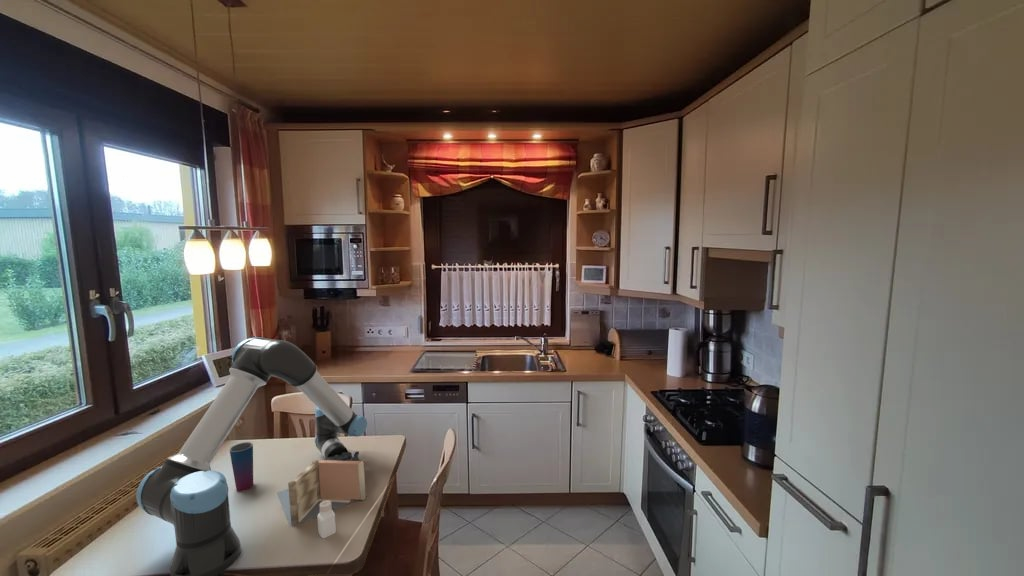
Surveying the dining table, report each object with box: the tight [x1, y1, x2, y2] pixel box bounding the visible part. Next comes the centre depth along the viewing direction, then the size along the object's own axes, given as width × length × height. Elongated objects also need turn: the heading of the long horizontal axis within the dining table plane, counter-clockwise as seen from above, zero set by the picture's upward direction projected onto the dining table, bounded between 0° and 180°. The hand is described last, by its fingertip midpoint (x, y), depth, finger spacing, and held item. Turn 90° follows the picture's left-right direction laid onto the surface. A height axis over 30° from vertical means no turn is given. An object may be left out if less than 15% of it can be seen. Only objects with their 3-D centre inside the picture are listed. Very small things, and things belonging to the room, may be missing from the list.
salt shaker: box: [316, 500, 337, 539], centre depth 119 cm, size 4×4×10 cm
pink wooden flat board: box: [318, 459, 367, 501], centre depth 135 cm, size 15×2×13 cm, turn 86°
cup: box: [229, 441, 254, 492], centre depth 142 cm, size 7×7×15 cm
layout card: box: [276, 488, 367, 528], centre depth 138 cm, size 23×22×1 cm
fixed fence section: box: [287, 459, 321, 526], centre depth 129 cm, size 14×2×13 cm, turn 174°
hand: (356, 480), depth 136 cm, fingers closed
